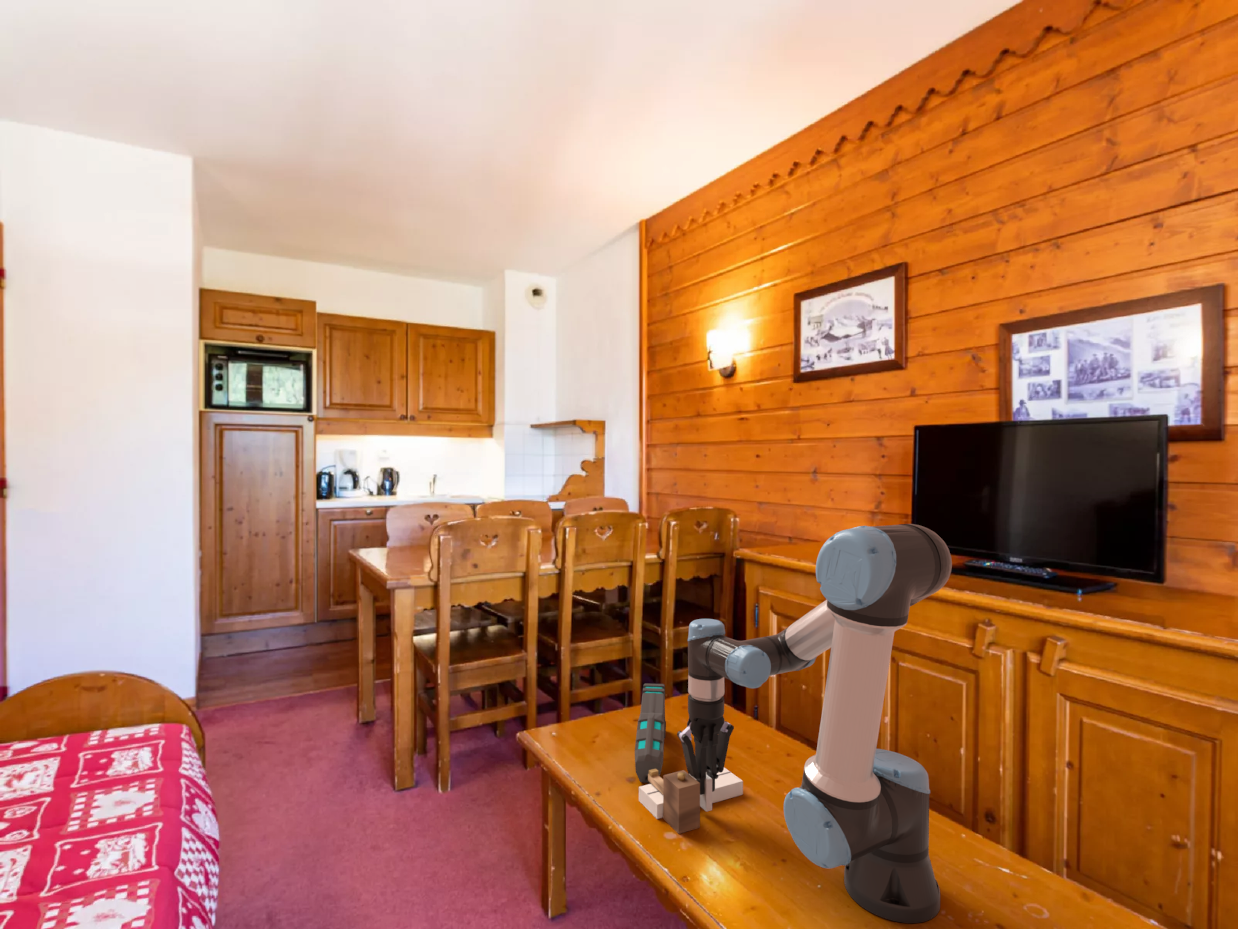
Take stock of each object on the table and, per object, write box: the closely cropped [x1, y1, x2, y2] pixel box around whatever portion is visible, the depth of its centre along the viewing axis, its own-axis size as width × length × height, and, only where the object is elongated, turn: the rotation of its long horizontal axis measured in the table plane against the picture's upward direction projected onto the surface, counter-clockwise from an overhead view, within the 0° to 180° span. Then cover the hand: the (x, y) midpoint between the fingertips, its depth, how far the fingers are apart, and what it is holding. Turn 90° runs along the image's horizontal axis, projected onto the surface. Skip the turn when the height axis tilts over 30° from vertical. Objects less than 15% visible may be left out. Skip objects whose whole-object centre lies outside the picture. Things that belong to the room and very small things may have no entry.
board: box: [638, 767, 744, 820], centre depth 139 cm, size 8×22×3 cm, turn 117°
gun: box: [634, 683, 667, 784], centre depth 159 cm, size 7×29×15 cm, turn 174°
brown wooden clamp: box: [648, 769, 701, 835], centre depth 133 cm, size 15×5×10 cm, turn 27°
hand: (705, 807), depth 132 cm, fingers closed
